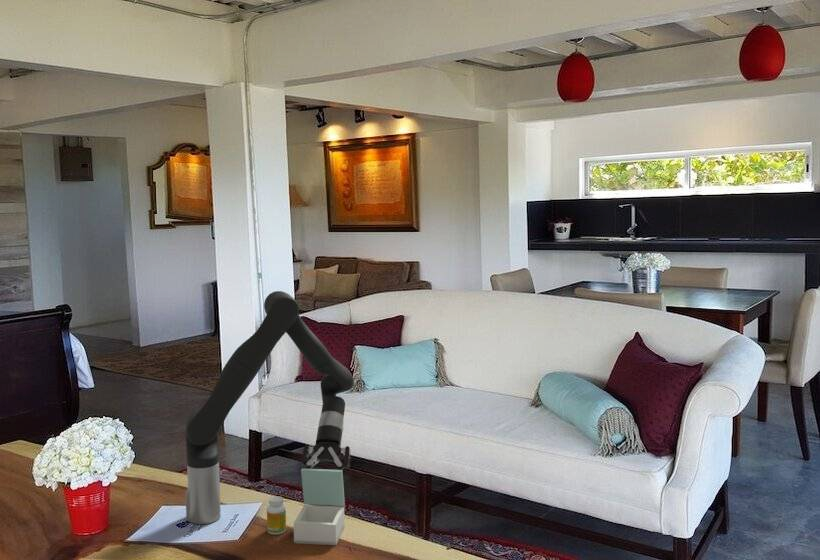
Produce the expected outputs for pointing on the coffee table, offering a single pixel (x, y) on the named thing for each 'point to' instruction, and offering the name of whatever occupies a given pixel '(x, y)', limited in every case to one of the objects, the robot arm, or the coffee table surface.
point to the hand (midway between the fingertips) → (322, 480)
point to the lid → (323, 487)
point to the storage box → (319, 525)
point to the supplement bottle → (276, 516)
